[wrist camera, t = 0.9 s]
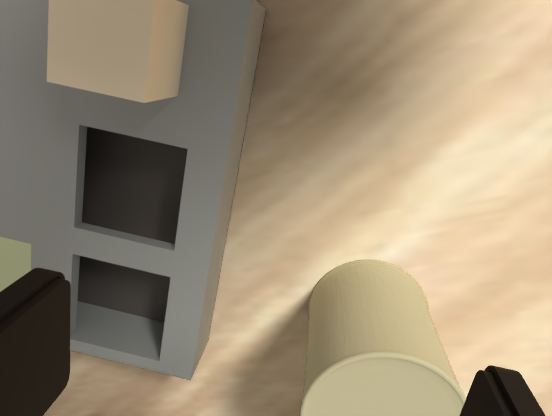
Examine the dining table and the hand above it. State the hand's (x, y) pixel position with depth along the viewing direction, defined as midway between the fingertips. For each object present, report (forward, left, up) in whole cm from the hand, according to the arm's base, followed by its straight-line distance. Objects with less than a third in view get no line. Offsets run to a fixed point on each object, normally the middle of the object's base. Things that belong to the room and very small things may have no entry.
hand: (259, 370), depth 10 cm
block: (-6, -11, -18) cm, 22 cm away
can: (+11, +7, -23) cm, 26 cm away
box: (+4, -16, -23) cm, 28 cm away
